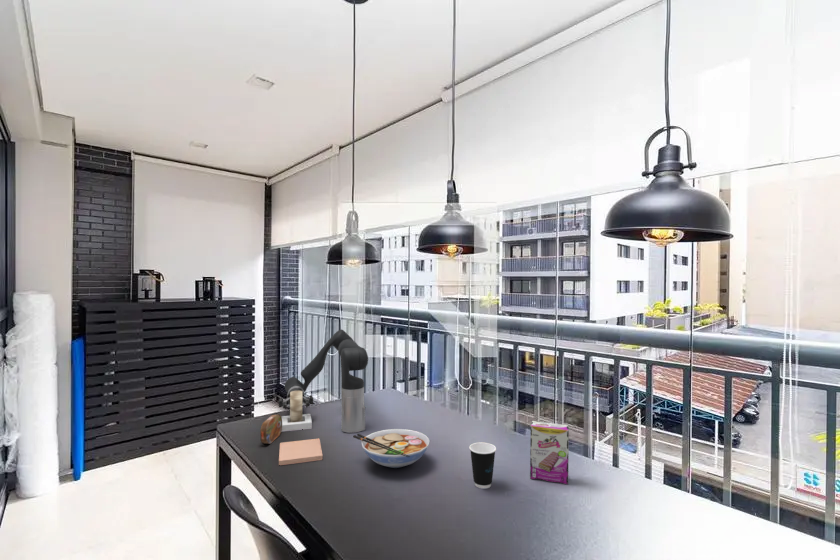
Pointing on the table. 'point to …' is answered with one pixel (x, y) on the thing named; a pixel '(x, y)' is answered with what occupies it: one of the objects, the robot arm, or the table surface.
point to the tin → (271, 429)
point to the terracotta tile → (300, 451)
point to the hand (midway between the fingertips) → (296, 406)
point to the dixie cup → (482, 463)
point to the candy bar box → (549, 452)
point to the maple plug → (296, 406)
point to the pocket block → (296, 423)
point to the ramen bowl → (394, 446)
